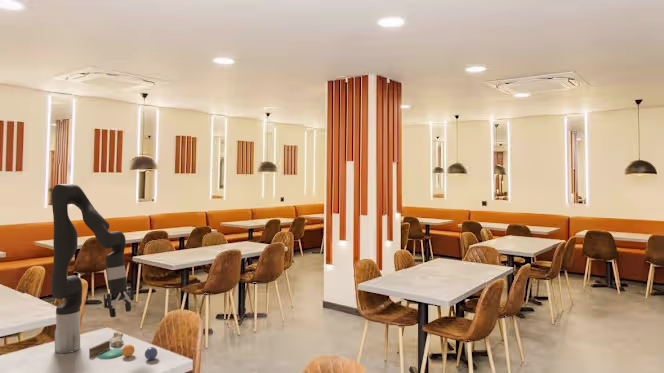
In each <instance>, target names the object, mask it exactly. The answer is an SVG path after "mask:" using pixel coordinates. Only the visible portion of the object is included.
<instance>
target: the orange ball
mask: <svg viewBox="0 0 664 373" xmlns="http://www.w3.org/2000/svg"><path fill="white" fill-rule="evenodd" d="M121 349H122V354H123V355H122V356H124V357H127V358H128V357H131V356H133V355H134V353H135V349H136V348H135V346H134V345H132V344H130V343H129V344H125V345H124V346H123V348H121Z"/></svg>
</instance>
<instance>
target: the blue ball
mask: <svg viewBox="0 0 664 373" xmlns="http://www.w3.org/2000/svg"><path fill="white" fill-rule="evenodd" d="M157 356H158V350H157V348H156V347H155V346H154V347H153V346H150V347H148V348H147V349H146V350H145V351H144V357H145V359H147V360H150V361H152V360H154V359H156V357H157Z"/></svg>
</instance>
